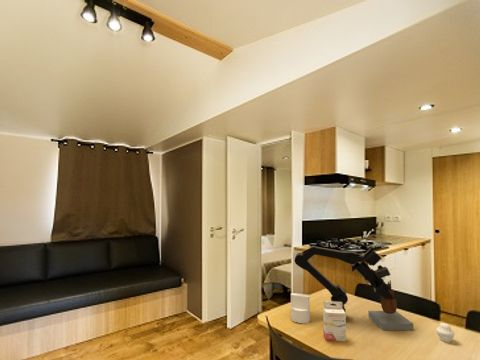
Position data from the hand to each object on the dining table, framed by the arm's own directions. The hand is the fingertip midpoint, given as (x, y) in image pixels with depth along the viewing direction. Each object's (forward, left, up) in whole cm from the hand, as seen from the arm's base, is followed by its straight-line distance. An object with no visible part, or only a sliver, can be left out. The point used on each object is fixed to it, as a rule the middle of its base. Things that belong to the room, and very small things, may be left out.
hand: (391, 297), depth 133 cm
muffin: (+14, -16, -12) cm, 24 cm away
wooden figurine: (-1, 0, -7) cm, 8 cm away
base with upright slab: (-43, +4, -12) cm, 45 cm away
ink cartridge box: (-32, -14, -12) cm, 37 cm away
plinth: (-1, 0, -12) cm, 12 cm away
